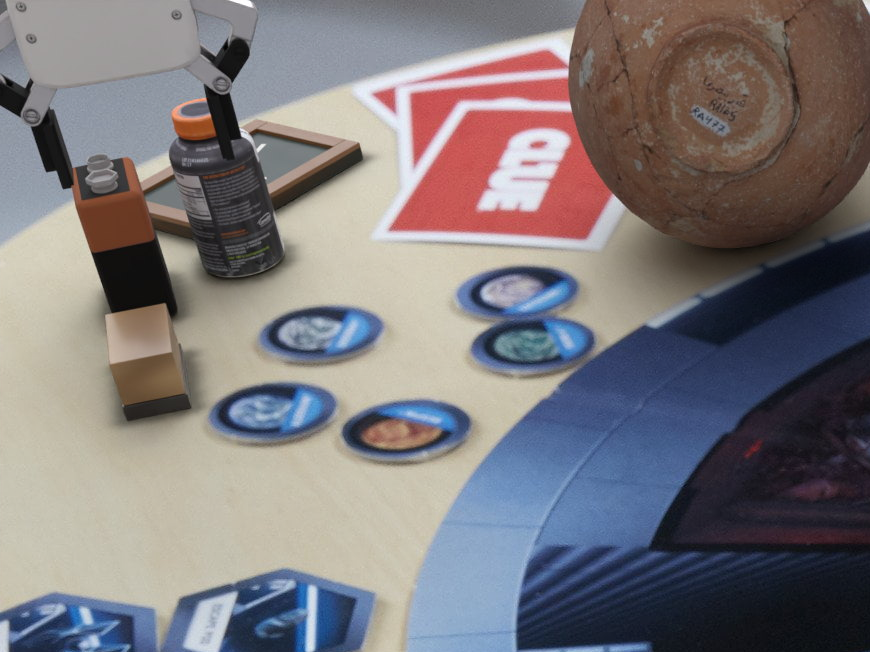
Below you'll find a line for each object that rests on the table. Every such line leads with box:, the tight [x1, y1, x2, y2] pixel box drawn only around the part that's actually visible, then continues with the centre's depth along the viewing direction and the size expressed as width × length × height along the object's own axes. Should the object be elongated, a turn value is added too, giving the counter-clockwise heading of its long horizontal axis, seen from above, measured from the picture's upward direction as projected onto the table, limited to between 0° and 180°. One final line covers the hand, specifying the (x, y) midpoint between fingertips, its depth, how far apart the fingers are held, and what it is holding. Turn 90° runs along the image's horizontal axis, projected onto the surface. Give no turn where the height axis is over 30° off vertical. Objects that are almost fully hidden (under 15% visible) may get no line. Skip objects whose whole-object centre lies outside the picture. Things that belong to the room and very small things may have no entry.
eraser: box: [104, 303, 192, 421], centre depth 158 cm, size 4×8×4 cm, turn 18°
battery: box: [71, 153, 178, 317], centre depth 165 cm, size 4×7×10 cm, turn 20°
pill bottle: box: [168, 97, 286, 278], centre depth 169 cm, size 6×6×11 cm
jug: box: [567, 0, 870, 249], centre depth 168 cm, size 22×22×30 cm
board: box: [140, 118, 364, 240], centre depth 182 cm, size 16×11×1 cm
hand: (148, 166), depth 147 cm, fingers open, 9 cm apart
